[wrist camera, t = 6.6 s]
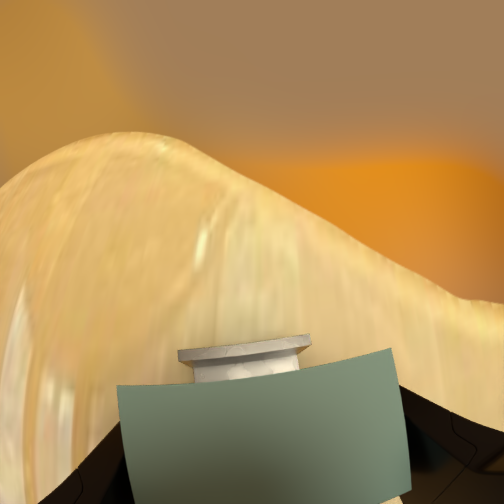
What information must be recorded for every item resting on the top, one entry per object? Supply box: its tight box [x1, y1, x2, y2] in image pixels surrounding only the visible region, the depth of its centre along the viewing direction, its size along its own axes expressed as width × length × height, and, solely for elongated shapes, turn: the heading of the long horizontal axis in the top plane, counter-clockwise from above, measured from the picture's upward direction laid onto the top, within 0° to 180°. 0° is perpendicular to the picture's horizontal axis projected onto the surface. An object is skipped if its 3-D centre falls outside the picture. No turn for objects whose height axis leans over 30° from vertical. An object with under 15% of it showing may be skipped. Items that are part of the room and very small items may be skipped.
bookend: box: [178, 334, 312, 383], centre depth 15 cm, size 7×7×5 cm
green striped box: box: [117, 348, 412, 504], centre depth 9 cm, size 4×6×10 cm, turn 98°
